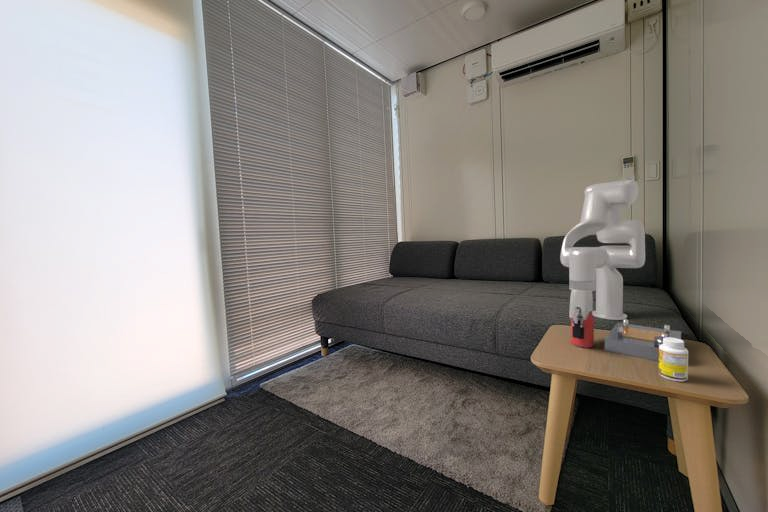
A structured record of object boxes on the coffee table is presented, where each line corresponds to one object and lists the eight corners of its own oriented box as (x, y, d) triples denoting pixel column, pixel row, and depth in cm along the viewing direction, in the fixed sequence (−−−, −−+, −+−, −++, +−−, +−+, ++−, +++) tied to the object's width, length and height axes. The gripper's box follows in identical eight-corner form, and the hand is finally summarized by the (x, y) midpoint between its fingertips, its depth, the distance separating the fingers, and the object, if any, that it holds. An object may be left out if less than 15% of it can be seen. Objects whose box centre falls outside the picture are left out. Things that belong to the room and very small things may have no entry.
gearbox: (618, 330, 114) (619, 313, 114) (681, 340, 102) (681, 321, 101) (604, 350, 97) (604, 329, 97) (677, 365, 85) (677, 341, 84)
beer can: (586, 341, 106) (586, 308, 105) (598, 348, 99) (598, 313, 98) (567, 341, 106) (567, 308, 105) (577, 348, 100) (577, 313, 99)
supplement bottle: (665, 370, 82) (665, 334, 81) (692, 379, 77) (693, 340, 76) (653, 375, 80) (654, 338, 79) (681, 384, 75) (682, 345, 74)
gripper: (576, 280, 110) (576, 326, 111) (561, 288, 98) (562, 338, 99) (601, 282, 104) (601, 330, 106) (588, 290, 93) (588, 344, 94)
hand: (582, 334), depth 102 cm, fingers open, 9 cm apart
